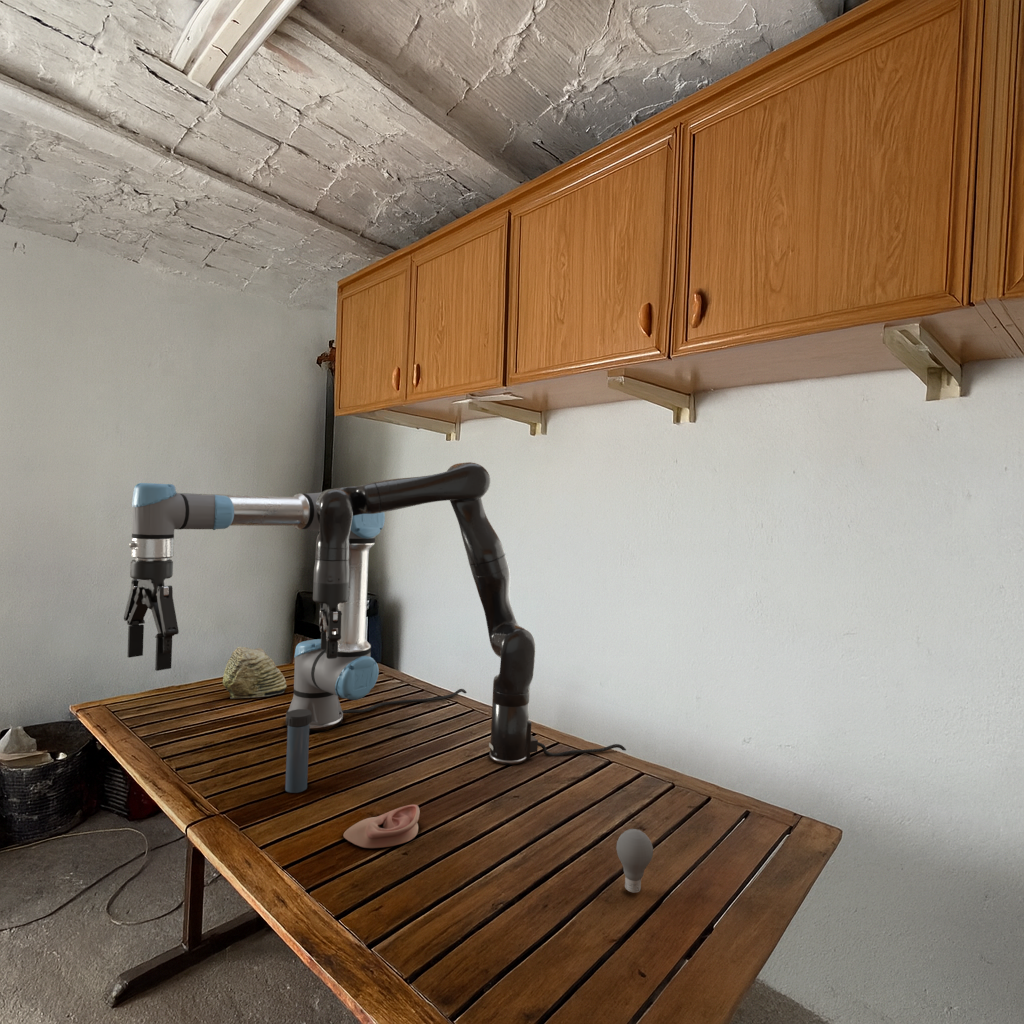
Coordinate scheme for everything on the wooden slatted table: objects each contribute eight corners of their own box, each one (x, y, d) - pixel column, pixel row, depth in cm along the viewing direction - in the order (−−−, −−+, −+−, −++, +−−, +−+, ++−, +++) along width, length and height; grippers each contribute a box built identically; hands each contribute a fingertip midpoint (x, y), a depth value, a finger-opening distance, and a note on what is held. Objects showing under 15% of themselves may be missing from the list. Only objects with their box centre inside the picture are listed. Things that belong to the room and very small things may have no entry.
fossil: (218, 695, 195) (220, 647, 195) (278, 685, 208) (279, 640, 207) (228, 703, 189) (230, 653, 188) (289, 692, 201) (290, 645, 201)
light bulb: (610, 879, 108) (613, 822, 108) (644, 879, 109) (647, 822, 109) (619, 902, 102) (622, 840, 102) (655, 901, 103) (658, 840, 103)
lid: (308, 727, 135) (308, 717, 135) (283, 727, 134) (283, 717, 134) (313, 718, 140) (313, 709, 140) (289, 718, 139) (289, 709, 139)
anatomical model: (336, 822, 116) (363, 794, 127) (335, 843, 116) (362, 813, 127) (404, 832, 113) (426, 803, 124) (403, 854, 113) (425, 823, 124)
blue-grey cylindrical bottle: (304, 792, 135) (307, 718, 135) (282, 793, 135) (285, 718, 134) (309, 783, 140) (311, 711, 139) (287, 783, 139) (290, 711, 139)
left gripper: (108, 554, 134) (104, 654, 134) (159, 565, 118) (155, 678, 119) (146, 552, 140) (143, 648, 140) (199, 563, 124) (195, 671, 124)
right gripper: (355, 584, 134) (352, 660, 134) (343, 575, 147) (340, 645, 147) (318, 584, 131) (315, 663, 131) (309, 576, 143) (306, 647, 144)
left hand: (148, 662), depth 129 cm, fingers open, 13 cm apart
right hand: (328, 653), depth 139 cm, fingers open, 8 cm apart
